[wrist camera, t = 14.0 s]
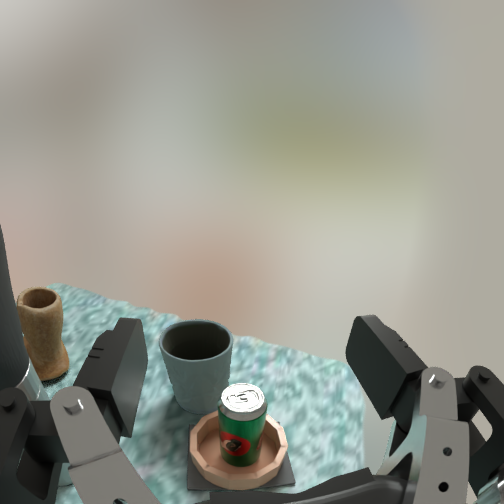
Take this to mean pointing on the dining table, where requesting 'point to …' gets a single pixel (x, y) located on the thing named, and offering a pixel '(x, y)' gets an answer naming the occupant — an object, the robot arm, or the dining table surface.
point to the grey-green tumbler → (197, 362)
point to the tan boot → (43, 331)
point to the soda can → (241, 423)
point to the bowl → (229, 476)
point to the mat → (200, 483)
